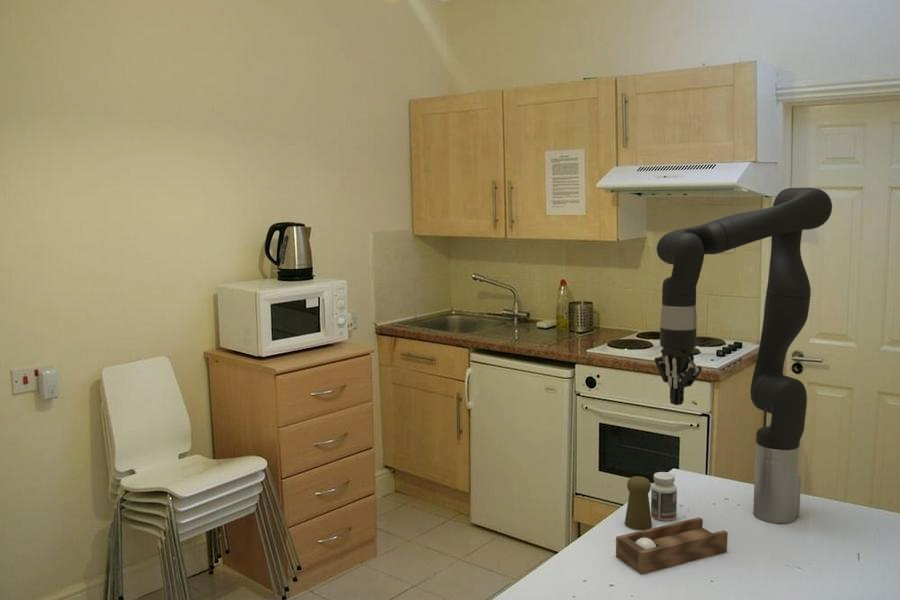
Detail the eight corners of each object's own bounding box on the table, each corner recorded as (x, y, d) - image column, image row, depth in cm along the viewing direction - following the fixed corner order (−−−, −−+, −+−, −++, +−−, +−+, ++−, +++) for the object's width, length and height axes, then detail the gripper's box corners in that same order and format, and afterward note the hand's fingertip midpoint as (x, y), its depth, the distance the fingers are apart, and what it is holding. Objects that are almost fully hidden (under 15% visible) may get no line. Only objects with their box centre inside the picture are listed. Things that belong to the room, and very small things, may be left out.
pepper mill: (652, 531, 175) (653, 483, 173) (624, 529, 176) (625, 482, 175) (651, 520, 181) (652, 474, 179) (624, 518, 182) (625, 472, 181)
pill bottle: (679, 514, 184) (680, 473, 182) (672, 523, 179) (673, 481, 177) (654, 509, 187) (655, 469, 185) (647, 518, 182) (648, 477, 180)
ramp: (698, 536, 172) (699, 517, 171) (727, 552, 164) (727, 532, 164) (615, 556, 163) (616, 536, 163) (641, 574, 156) (641, 553, 155)
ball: (630, 534, 162) (626, 556, 162) (645, 544, 157) (640, 566, 158) (649, 533, 164) (644, 555, 164) (664, 543, 159) (659, 566, 160)
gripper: (714, 328, 164) (711, 409, 167) (671, 319, 176) (670, 395, 179) (685, 331, 161) (683, 414, 164) (644, 322, 173) (643, 399, 176)
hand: (676, 403), depth 171 cm, fingers closed
